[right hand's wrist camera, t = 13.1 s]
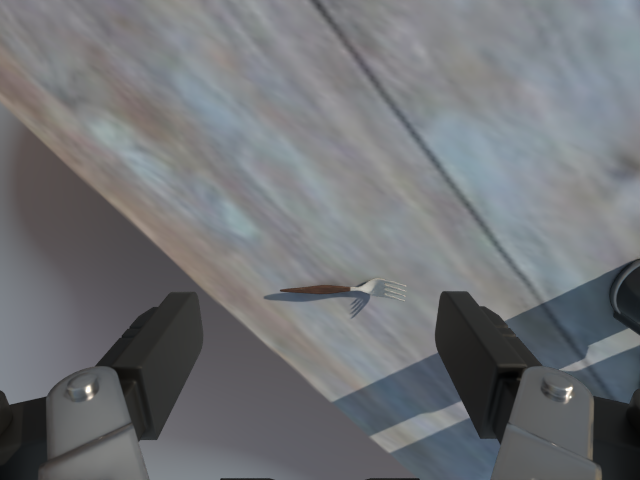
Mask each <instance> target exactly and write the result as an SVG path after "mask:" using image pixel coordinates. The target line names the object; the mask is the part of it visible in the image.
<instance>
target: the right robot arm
mask: <svg viewBox="0 0 640 480" xmlns="http://www.w3.org/2000/svg"><path fill="white" fill-rule="evenodd" d="M610 301H611V305H612V307H613V308H614V310H615V313H614V318H616V319H617V320H619V321H620V322H621V323H623V324H624V325H626V326H627V327H629V328H630V329H631V330H633V331H634V332H636V333H637V334H638V335H640V259H639V260H637V261H635V262H633V263H632V264H630V265H629V266H627V267H626V268H625V269H624V270H623V271H622V272H621V273H620V274H619V275H618V277H617V278H616V279H615V281H614V283H613V285H612V288H611V292H610ZM435 342H436V347H437V350H438V353H439V355H440V357H441V359H442V361H443V363H444V365H445V367H446V369H447V371H448V373H449V375H450V377H451V379H452V381H453V383H454V385H455V388H456V390H457V392H458V394H459V396H460V398H461V400H462V402H463V404H464V406H465V408H466V410H467V412H468V414H469V416H470V418H471V420H472V422H473V424H474V427H475V429H476V431H477V433H478V435H479V437H480V439H498V441H499V443H500V445H501V446H500V449H499V452H498V456H497V459H496V463H495V466H494V469H493V473H492V476H491V479H490V480H640V389H638V390H636V391H635V392H634V394H633V396H632V399H631V401H630V404H627V403H622V402H618V401H613V400H609V399H604V398H600V397H595V396H593V395H592V393H591V392H590V390H589V389H588V388H587V387H586V386H585V385H584V384H583V383H582V382H580V381H579V380H578V379H576V378H574V377H573V376H571V375H569V374H567V373H565V372H563V371H560V370H557V369H554V368H550V367H544V366H542V365H541V363H540V362H539V361H538V360H537V359H536V358H535V356H534V355H533V354H532V353H531V352H530V351H529V350H528V348H527V347H526V346H525V345H524V344H523V343H522V342H521V340H520V339H519V338H518V337H516V335H515V333H514V332H513V331H512V330H511V329H510V328H508V325H507V324H506V323H505V322H504V321H503V320H502V318H501V317H500V316H499V315H497V314H496V313H494V312H493V311H491V310H489V309H488V308H486V307H485V306H479V305H478V304H477V303H476V301H475V300H474V299H473V298H472V296H471V295H470V294H469V293H468V292H466V291H443V292H442V293H441V296H440V300H439V308H438V315H437V322H436V329H435ZM202 344H203V328H202V321H201V314H200V307H199V300H198V296H197V294H196V293H195V292H171V293H170V294H169V295H168V296H167V297H166V298H165V299H164V301H163V302H162V303H161V304H160V306H159V307H153V308H151V309H149V310H148V311H146V312H145V313H143V314H142V315H140V316H139V317H138V318H137V319H136V320H135V321H134V322H133V323H132V325H131V326H130V328H129V329H127V330H126V331H125V333H124V334H123V335H122V338H119V339H118V341H117V342H116V343H115V344H114V345H113V346H112V347H111V349H110V350H109V351H108V352H107V353H106V354H105V355H104V357H103V358H102V359H101V360H100V361H99V362H98V363H97V365H96V366H95V367H90V368H86V369H83V370H80V371H77V372H75V373H73V374H71V375H69V376H67V377H66V378H64V379H63V380H61V381H60V382H58V383H57V384H56V385H55V386H54V387H53V388H52V389H51V390H50V392H49V393H48V395H47V396H46V397H43V398H38V399H34V400H30V401H25V402H20V403H16V404H11V405H9V403H8V401H7V399H6V396H5V394H4V393H3V392H2V391H0V480H150V479H149V476H148V473H147V469H146V466H145V463H144V459H143V456H142V453H141V449H140V446H139V441H140V440H157V439H158V437H159V435H160V433H161V431H162V429H163V427H164V425H165V423H166V421H167V419H168V417H169V415H170V413H171V410H172V408H173V406H174V404H175V402H176V400H177V398H178V396H179V394H180V392H181V390H182V388H183V386H184V384H185V382H186V380H187V378H188V376H189V374H190V372H191V370H192V368H193V366H194V364H195V362H196V360H197V358H198V356H199V354H200V351H201V349H202ZM220 480H273V479H270V478H221V479H220ZM367 480H420V479H419V478H370V479H367Z"/></svg>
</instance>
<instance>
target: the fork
mask: <svg viewBox="0 0 640 480" xmlns="http://www.w3.org/2000/svg"><path fill="white" fill-rule="evenodd" d="M385 283H390V284H396V285H401V286H405V285H402V284H399V283H395V282H392V281H388V280H384V279H379V278H376V279H372V280H370V281H368V282H367V283H365V284H364V285H362V286H360V287H343V286H332V285H320V286H311V287H302V288H291V289H282V290H280V291H281V292H294V293H311V294H330V293H339V292H346V291H362V292H365V293H367V294H370V295H373V296H379V297H387V298H392V299H396V300H401V301H404V302H405V300H402V299H399V298H396V297H392V296H389V295H386V294H384V293H391V294H396V295H401V296H405V295H402V294H399V293H395V292H392V291H389V290H386V289H384V288H391V289H396V290H401V291H405V290H402V289H399V288H395V287H392V286H388V285H386V284H385ZM405 287H406V286H405ZM405 292H406V291H405Z"/></svg>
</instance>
